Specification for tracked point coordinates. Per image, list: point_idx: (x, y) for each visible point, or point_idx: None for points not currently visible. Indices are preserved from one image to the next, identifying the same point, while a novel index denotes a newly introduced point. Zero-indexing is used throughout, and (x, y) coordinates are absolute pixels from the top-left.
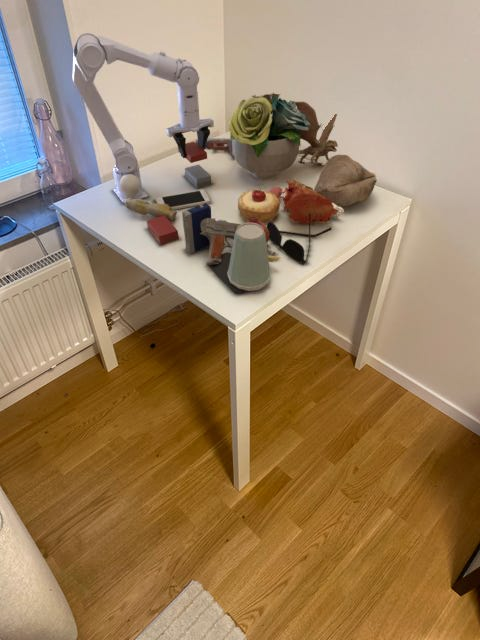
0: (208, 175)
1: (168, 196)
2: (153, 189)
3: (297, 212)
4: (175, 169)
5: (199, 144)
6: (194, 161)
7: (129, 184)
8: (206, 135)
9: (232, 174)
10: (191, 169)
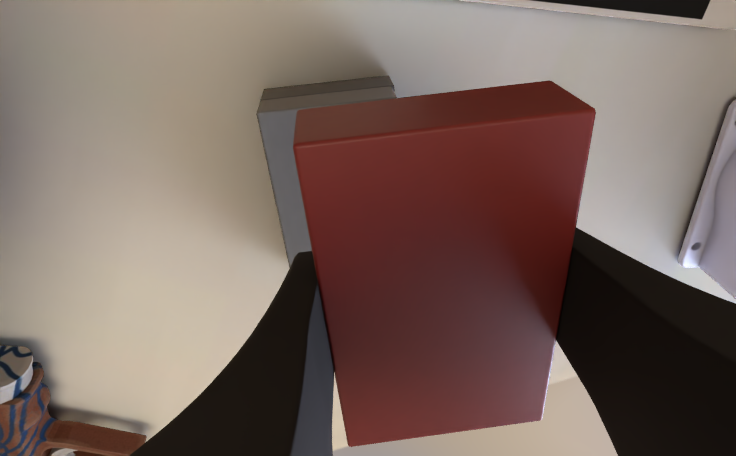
0: (279, 123)
1: (659, 7)
2: (638, 180)
3: None
4: None
5: (327, 366)
6: (500, 87)
7: None
8: (213, 440)
9: (68, 167)
10: None
